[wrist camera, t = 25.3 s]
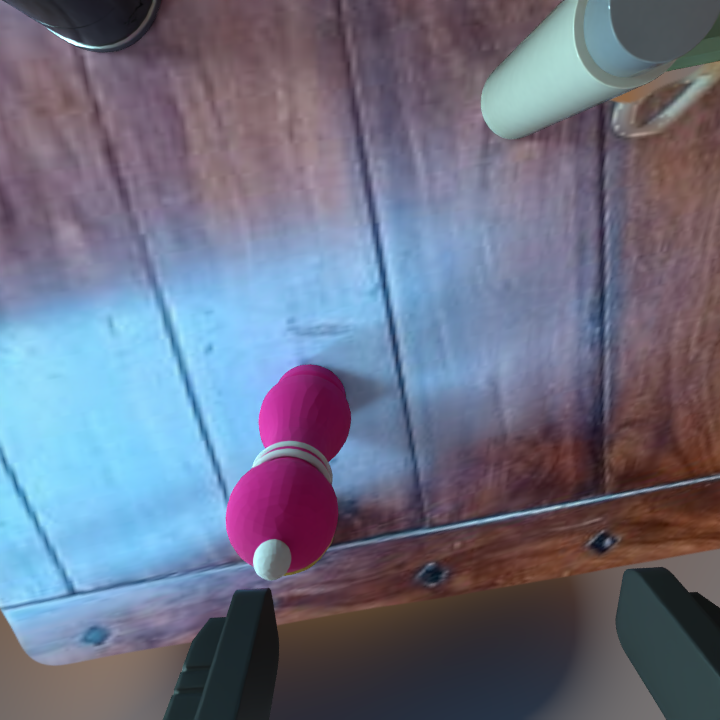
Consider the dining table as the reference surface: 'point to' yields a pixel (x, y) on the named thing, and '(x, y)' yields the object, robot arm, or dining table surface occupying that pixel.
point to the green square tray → (702, 50)
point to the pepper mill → (291, 475)
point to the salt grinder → (589, 59)
